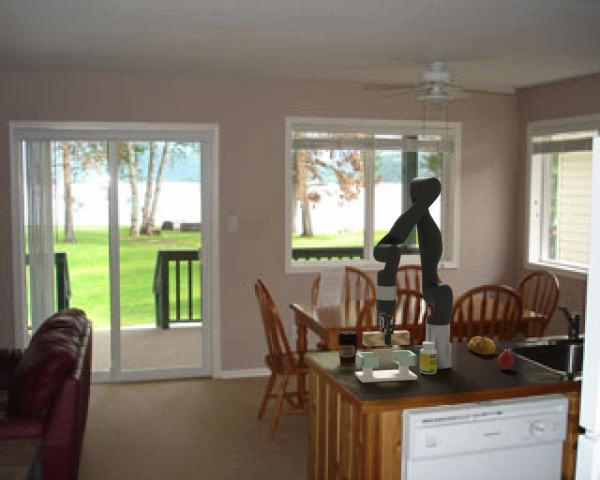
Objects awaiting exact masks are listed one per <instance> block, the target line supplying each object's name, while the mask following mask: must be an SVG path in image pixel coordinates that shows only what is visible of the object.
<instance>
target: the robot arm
mask: <svg viewBox="0 0 600 480" xmlns="http://www.w3.org/2000/svg"><path fill="white" fill-rule="evenodd" d="M441 192H442V183H441V181H440V180H439V179H438V178H437V177H434V176H421V177H415V178H413V179H412V180H411V182H410V184H409V195H410V196H409V197H410V200H411V205H410V206H409V207H408V208H407V209H406V210H405V211H404V212H402V213H401V214H400V216H398V217H397V219H395V221H394V223H393V225H392V226H391V228H390V229H389V231H388V233H386V234H385V235H383V237H382V238H381V239H380V240H379V241H378V242H377V243H376V245H374V248H373V252H372V254H373V255H372V256H373V259H374V260H375V261H377V262H378V263H384V267H383V269H381V268H380V269H379V270H378V271H377V274H376V292H375V309H376V311H377V312H380V313H377V320H378V321H377V323H378V330H379V331H385V345H386V346H392V345H391V335H392V334H393V333H394V331H395V326H396V325H395V324H396V319H394V316H393V312H395V311H397V307H398V306H397V302H398V301H397V297H398V296H397V273H398V271H399V270H398V269H399V266H400V263H401V258H402V252H401V250H400V248H399V246H400V245H403V244H404V243H405V242H406V241H407V240H408V238H409V237H410V234H411V232H412V231H413V230H414V227H415V226H416V235H417V244H418V245H417V246H418V251H419V252H418V253H419V256H420V257H419V258H420V266H421V291H422V292H421V293H422V294H421V295H422V298H423V301H424V302H425V303H426V304H427V305H430V306H433V308H432V309H433V311H432V313H431V314H427V315H426V319H425V320H426V321H425V342H426V341H430V342H434V343H435V347H434V349H436V350H437V370H442V369H448V368H452V352H453V349H452V345H453V344H452V342H451V338H450V337H451V329H450V328H451V319H452V316H453V310H454V309H453V307H454V291H453V289H452V287H451V286H450V285H449V284H446V283H441V282H439V276H438V275H439V274H438V266H439V263H440V260H441V257H442V254H443V250H444V246H443V238H442V232H441V230H440V228H439V225H438V224H437V223H436V221H435V220H434V218H433V217H432V215H431V213H430V207H431V206H432V205H433V204H434V203H435V202H436V201H437V199H438V198H439V197H440V194H441Z"/></svg>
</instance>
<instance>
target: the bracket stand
mask: <svg viewBox="0 0 600 480" xmlns="http://www.w3.org/2000/svg"><path fill="white" fill-rule="evenodd" d="M355 359H356V360H355V361H356V364H358V365H359V366H360V367H361V368H362V371H355V372H354V376H355V377H356V378H357V379H358V380H359V381H360V382H362V383H374V382H375V383H378V382H394V381H415V380H418V376H417V374H415V373H414V372H412V370H410V367H411V366H413V367H414V366H416V364H417V354H416V353H414V352H412V351H411V350H410V349H409V350H408V349H407V350H404V349H402V350H392V361H393V363H394V364H396V365H397V366H398V369H386V370H385V369H384V370H373V369H374V368H379V367H380V366H379V365H380V364H379V361H380V357H379V356H374V352H373V351H366V352H365V351H364V352H363V351H362V352H361V351H360V352H357V353H356V358H355Z"/></svg>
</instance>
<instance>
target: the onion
mask: <svg viewBox="0 0 600 480" xmlns="http://www.w3.org/2000/svg"><path fill="white" fill-rule="evenodd" d="M497 361H498V364H499V365H500V367H501V368H502V369H503V370H504V371H507V370H509V369H510V368H512V367H513V365H514V363H515V358H514V355H512V354H511V352H509V351H508V350H507V349H504V351H503V352H501V354H500V355H499V356H498V359H497Z"/></svg>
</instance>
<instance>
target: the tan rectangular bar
mask: <svg viewBox="0 0 600 480" xmlns="http://www.w3.org/2000/svg"><path fill="white" fill-rule="evenodd" d="M410 334H411V332H410V331H408V330H407V329H403V330H394V333H393V334H392V335H391V345H390V346H404V345H405V346H406V345H409V346H410V339H411V337H410V336H411V335H410ZM362 345H363V346H365V347H382V346H387V345H385V331H380V330H378V331H362Z"/></svg>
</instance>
